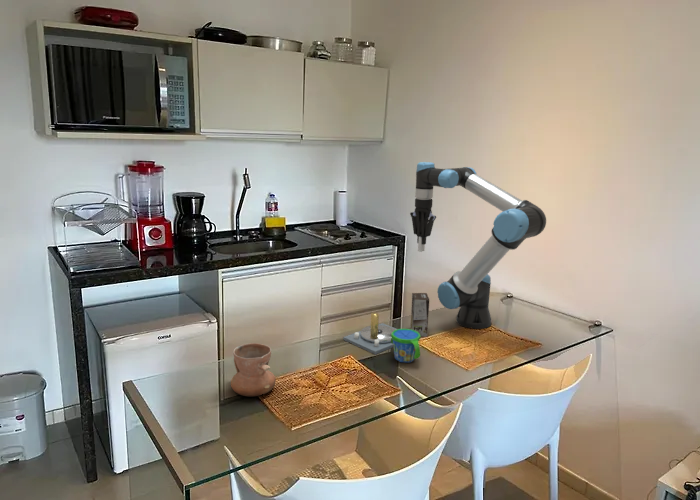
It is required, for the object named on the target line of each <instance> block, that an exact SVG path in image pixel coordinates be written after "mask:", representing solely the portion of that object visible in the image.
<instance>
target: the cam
mask: <svg viewBox="0 0 700 500" xmlns="http://www.w3.org/2000/svg"><path fill="white" fill-rule="evenodd" d="M379 317H380V314H379V313H378V312H371V313H370V325H368V326H365V327H363V328H362V329H360V331H361V337H362V339H364V340H366V341H368V342H372V343H374V342H375V340H376V339H378V340H379V343H389V342H391V334H392V332H393V331H394V330H395V329H394V328H395V327H394V328H391V327H392V326H391V327H388V326H389V325H388V326H382V325H379V322H380V321H379Z"/></svg>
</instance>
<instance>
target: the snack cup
mask: <svg viewBox="0 0 700 500" xmlns="http://www.w3.org/2000/svg"><path fill="white" fill-rule="evenodd" d="M396 329H397V330H394V331H393V332H392V334H391V343H392V344H393V347H392V348H393V355H394V359H395V360H396V361H398V362H400V363H405V364H407V363H412V362H413V361H414V360H417V359H419V358H420V357H421V351H420V344H419V343H420V342H419V341H420V340H421V337H422V336H420V334H419V333H418V332H417V331H415V330H411V328H396Z"/></svg>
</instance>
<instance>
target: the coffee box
mask: <svg viewBox="0 0 700 500" xmlns="http://www.w3.org/2000/svg"><path fill="white" fill-rule="evenodd" d="M410 311H411V313H410V329H411V330H415V331H417V332H418V333H419V334H420V336H421V337H428V326H429V312H430V298H429V296H428V293H427V292H418V293H417V292H412V293H411V309H410Z"/></svg>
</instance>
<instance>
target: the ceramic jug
mask: <svg viewBox="0 0 700 500" xmlns="http://www.w3.org/2000/svg"><path fill="white" fill-rule="evenodd" d="M232 353H233V363H234V366H235V370H236V373H235V374H234V375H233V376H232V377H231V380H230V386H231V389H232V391H234V392H235V393H236V394H237V395H240V396H243V397H251V398H252V397H259V396H263V395H265V394H267V393H269V392H270V391H271V390H273V389H274V387H275V386H276V383H277V382H276V376H275V374H274V373H273V372H271V371H270V369H271V366H270V365H269V363H270V360H271V356H272V348H271V347H270V346H269V345H267V344H262V343H256V342H251V343H250V342H249V343H242V344H240V345H238V346H236V347H235V348H234V349H233V351H232ZM262 394H263V395H262Z"/></svg>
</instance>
